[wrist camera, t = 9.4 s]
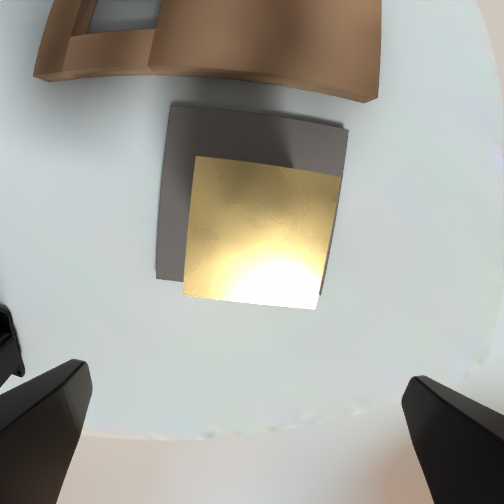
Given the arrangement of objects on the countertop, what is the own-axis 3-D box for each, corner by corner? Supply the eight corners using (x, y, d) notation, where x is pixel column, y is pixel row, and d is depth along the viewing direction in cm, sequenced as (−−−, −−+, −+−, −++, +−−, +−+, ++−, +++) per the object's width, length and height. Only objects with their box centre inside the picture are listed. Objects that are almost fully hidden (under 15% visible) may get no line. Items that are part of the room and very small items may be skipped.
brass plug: (205, 237, 18) (182, 295, 10) (214, 159, 17) (195, 156, 9) (282, 246, 18) (314, 308, 10) (294, 170, 17) (340, 177, 9)
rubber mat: (158, 275, 19) (156, 278, 18) (172, 107, 16) (170, 106, 16) (318, 291, 20) (320, 295, 19) (345, 130, 17) (348, 130, 16)
